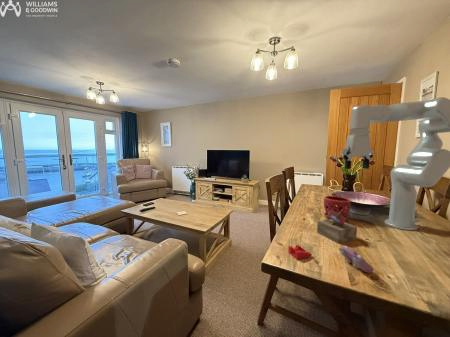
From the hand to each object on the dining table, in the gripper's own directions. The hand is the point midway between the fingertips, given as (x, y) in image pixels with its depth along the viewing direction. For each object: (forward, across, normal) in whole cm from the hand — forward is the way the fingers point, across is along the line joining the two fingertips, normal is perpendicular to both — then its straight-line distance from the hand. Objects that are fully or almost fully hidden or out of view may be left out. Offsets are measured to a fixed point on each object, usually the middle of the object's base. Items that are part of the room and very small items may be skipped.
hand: (356, 168), depth 92 cm
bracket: (+31, +38, +18) cm, 53 cm away
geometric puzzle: (+25, +14, +6) cm, 29 cm away
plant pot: (+31, -2, -14) cm, 34 cm away
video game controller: (+31, +23, +27) cm, 47 cm away
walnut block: (+31, +14, +6) cm, 34 cm away
